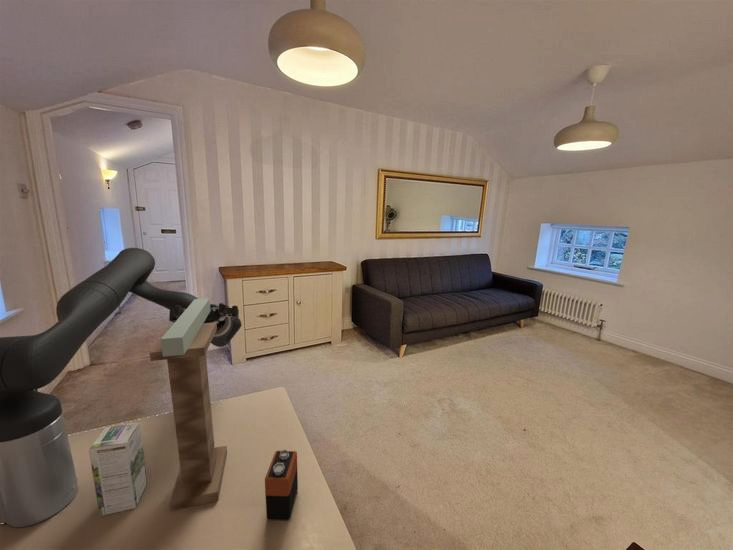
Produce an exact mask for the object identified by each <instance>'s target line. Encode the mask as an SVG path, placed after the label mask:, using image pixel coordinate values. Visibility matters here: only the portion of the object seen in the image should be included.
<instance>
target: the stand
mask: <svg viewBox="0 0 733 550" xmlns="http://www.w3.org/2000/svg"><path fill="white" fill-rule="evenodd" d="M216 330H217V323H216V322H214V323H203V324H202V326H201V328H200V329H199V331H198V333H197V334H196V336H195V338H194V339H193V341H192V342H191V344H190V346H189V347H188V349H187V351H186V352H185V354H184V355H174V356H164V357H163V353H162V345H161V339H160V340H159V341H158V342H157V343H156V344H155V346H153V348H152V349H151V351H149V358H150V360H149V361H150V362H154V361H155V362H156V361H165V360H166V362H167V364H166V365H167V369H168V370H167V371H168V372H167V373H168V378H169V385H170V387H169V388H170V394H171V395H170V396H171V403H172V410H173V419H174V426H175V435H176V443H177V444H176V445H177V452H178V459H179V467H180V468H179V469H180V472H179V475H178V477H177V481H176V484H175V486H174V488H173V489H174V490H173V493H172V496H171V498H170V502H169V506H170V507H169V508H170V511H171V512H173V511H174V512H175V511H177V510H182V509H186V508H191V507H195V506H199V505H203V504H208V503H212V502H217V501H219V499H220V493H221V487H222V482H223V476H224V472H225V467H226V461H227V456H228V446H227V445H220V446H216V447H215V439H214V437H215V435H214V429H213V428H214V427H213V416H212V407H211V404H212V403H211V395H210V394H211V393H210V384H209V383H210V382H209V374H208V363H207V351H208V350H209V347H210V345H211V341H212V339H213V337H214V334H215V332H216Z"/></svg>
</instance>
